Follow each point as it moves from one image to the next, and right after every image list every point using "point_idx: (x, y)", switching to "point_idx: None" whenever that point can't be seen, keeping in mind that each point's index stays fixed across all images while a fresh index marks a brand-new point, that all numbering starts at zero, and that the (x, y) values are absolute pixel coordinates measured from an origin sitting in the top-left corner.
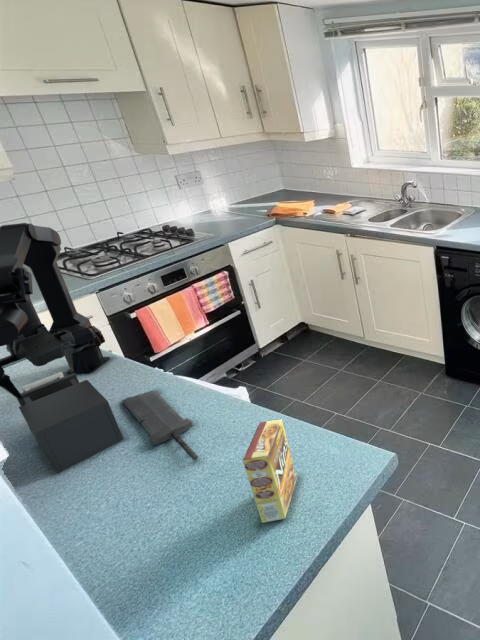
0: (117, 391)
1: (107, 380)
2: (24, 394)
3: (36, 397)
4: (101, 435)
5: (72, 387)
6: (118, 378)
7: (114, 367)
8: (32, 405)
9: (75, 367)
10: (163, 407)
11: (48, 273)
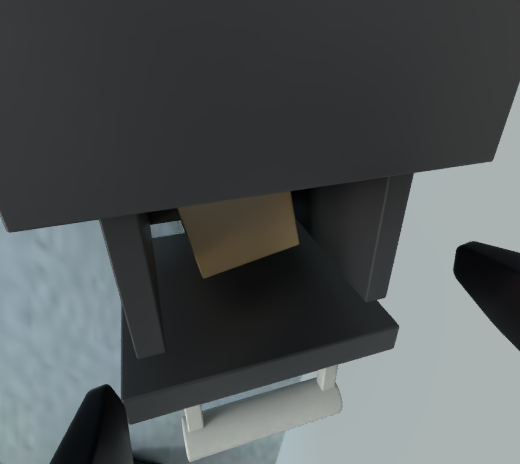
0: (8, 287)
1: (51, 386)
2: (370, 333)
3: (313, 308)
4: None
5: (155, 163)
6: (7, 380)
7: (25, 451)
8: (456, 93)
9: (76, 455)
10: None
11: None
